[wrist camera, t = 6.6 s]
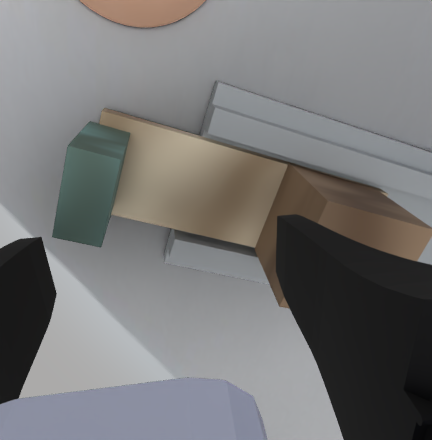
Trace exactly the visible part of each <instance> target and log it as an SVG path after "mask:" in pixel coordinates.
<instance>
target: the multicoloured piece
mask: <svg viewBox="0 0 432 440" xmlns="http://www.w3.org/2000/svg"><path fill="white" fill-rule="evenodd" d="M289 163H291V162H287V161H284V160H281V159H277V158H274V157H270V156H267V155H263V154H260V153H257V152H253V151H250V150H246V149H243V148H240V147H236V146H233V145H229V144H226V143H223V142H219V141H216V140H212V139H209V138H205V137H202V136H199V135H195V134H192V133H188V132H185V131H182V130H178V129H175V128H171V127H168V126H165V125H161V124H158V123H154V122H151V121H148V120H144V119H141V118H137V117H134V116H130V115H127V114H124V113H120V112H117V111H113V110H110V109H107V108H104V109H103V110H102V112H101V118H100V123H99V124H98V123H94V122H91V121H90V122H89V123H88V124H87V125H86V126H85V127H84V128H83V130H82V131H81V132H80V133H79V134H78V135H77V136H76V137H75V138H74V139H73V140H72V142H71V143H70V144H69V145H68V147H67V153H66V159H65V165H64V171H63V177H62V182H61V188H60V194H59V200H58V206H57V212H56V217H55V223H54V229H53V235H52V237H54V238H58V239H63V240H68V241H73V242H78V243H82V244H87V245H92V246H97V247H101V246H102V243H103V239H104V236H105V233H106V229H107V226H108V223H109V219H110V216H111V215H115V216H119V217H124V218H128V219H132V220H137V221H141V222H145V223H150V224H154V225H159V226H163V227H167V228H172V229H176V230H180V231H185V232H189V233H193V234H198V235H202V236H207V237H211V238H215V239H220V240H224V241H228V242H233V243H237V244H241V245H246V246H250V247H254V248H255V246H256V244H257V241H258V239H259V236H260V234H261V231H262V229H263V226H264V224H265V221H266V219H267V216H268V214H269V211H270V209H271V206H272V204H273V201H274V199H275V196H276V194H277V191H278V189H279V186H280V184H281V181H282V179H283V176H284V174H285V171H286V169H287V166H288V164H289ZM291 164H294V163H291ZM294 165H297V166H301V165H298V164H294ZM301 167H304V166H301ZM304 168H308V167H304ZM308 169H311V168H308ZM311 170H314V171H318V170H315V169H311ZM318 172H321V171H318ZM321 173H325V172H321ZM325 174H328V173H325ZM328 175H332V174H328ZM332 176H335V175H332ZM335 177H338V176H335ZM338 178H342V177H338ZM342 179H345V178H342ZM345 180H349V179H345ZM349 181H352V180H349ZM352 182H356V181H352ZM356 183H359V182H356ZM359 184H362V183H359ZM362 185H366V184H362ZM366 186H369V185H366ZM369 187H373V186H369ZM373 188H375V189H377V190H378V191H380V192H381V193H382V194H384V195H385V196H388V193H386V192H385V191H383V190H382V189H379V188H376V187H373Z"/></svg>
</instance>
